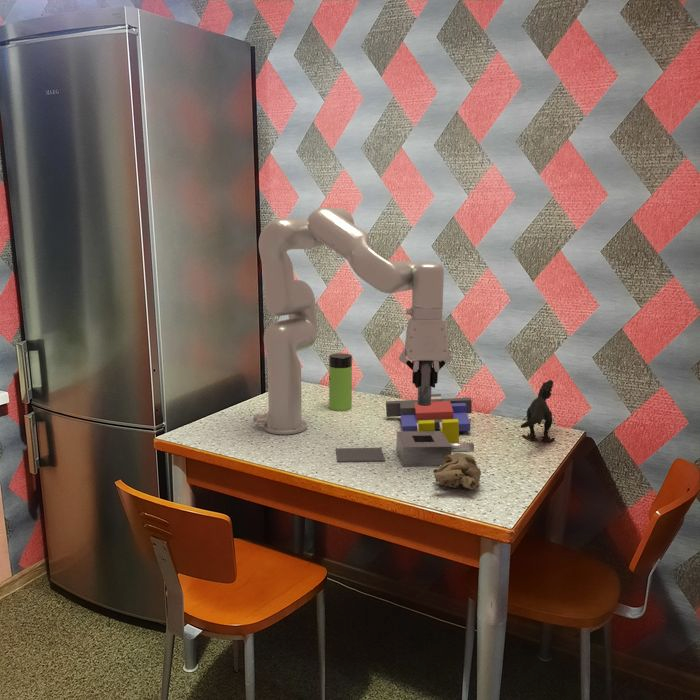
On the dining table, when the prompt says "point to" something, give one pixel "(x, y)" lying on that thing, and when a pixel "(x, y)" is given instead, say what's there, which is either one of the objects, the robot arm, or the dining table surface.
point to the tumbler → (340, 381)
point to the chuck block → (426, 448)
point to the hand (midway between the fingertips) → (424, 385)
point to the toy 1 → (433, 415)
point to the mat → (360, 455)
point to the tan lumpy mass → (458, 471)
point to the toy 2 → (540, 413)
